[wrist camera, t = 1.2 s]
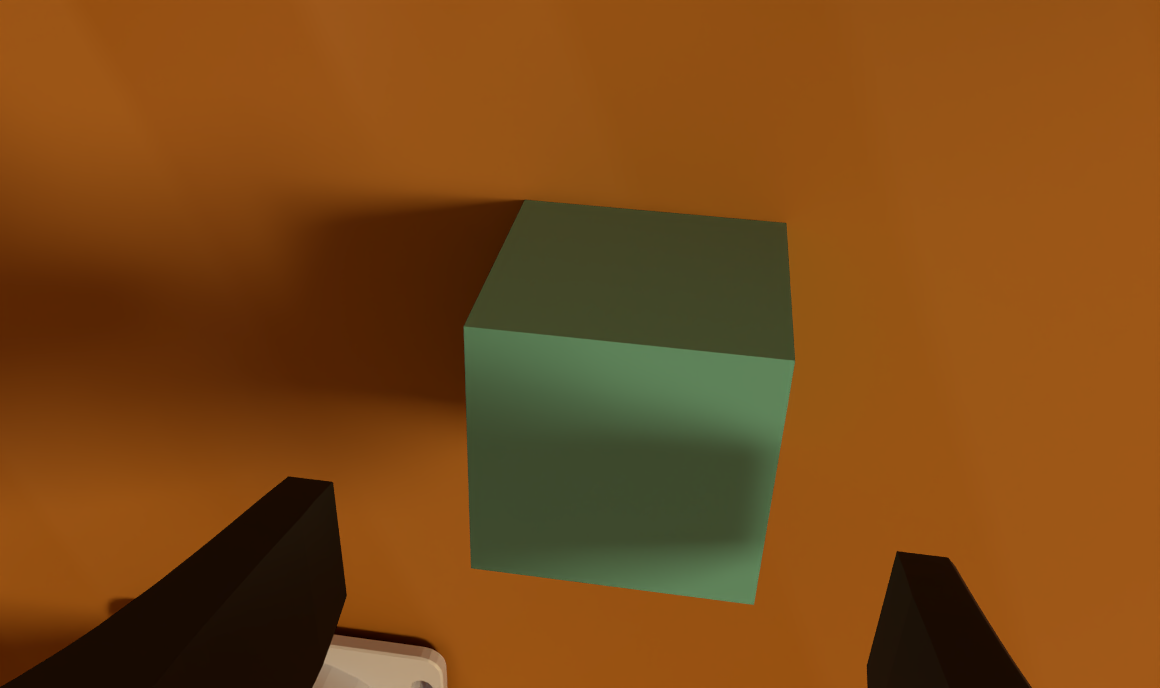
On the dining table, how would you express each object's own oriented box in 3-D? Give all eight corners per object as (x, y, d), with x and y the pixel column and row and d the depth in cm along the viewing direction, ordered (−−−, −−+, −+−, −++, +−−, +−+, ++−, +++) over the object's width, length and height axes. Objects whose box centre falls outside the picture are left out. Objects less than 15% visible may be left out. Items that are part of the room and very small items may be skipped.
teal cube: (754, 434, 20) (753, 604, 16) (524, 408, 20) (470, 567, 16) (786, 220, 17) (794, 360, 14) (525, 197, 18) (463, 326, 14)
